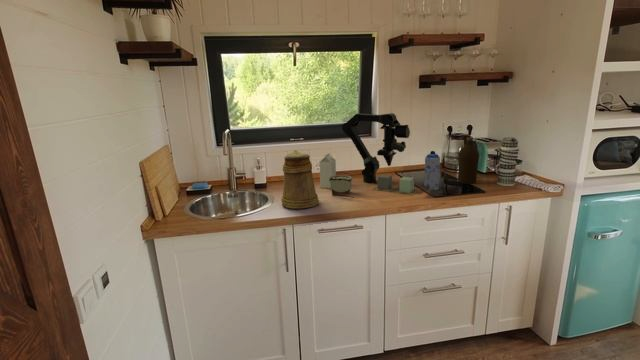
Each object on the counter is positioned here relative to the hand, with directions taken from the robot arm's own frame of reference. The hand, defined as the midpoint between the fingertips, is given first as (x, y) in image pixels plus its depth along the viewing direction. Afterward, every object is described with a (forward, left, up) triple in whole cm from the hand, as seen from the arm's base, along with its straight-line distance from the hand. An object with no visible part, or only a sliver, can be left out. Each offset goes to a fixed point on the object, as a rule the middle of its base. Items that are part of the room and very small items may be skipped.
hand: (389, 165), depth 190 cm
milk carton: (-31, -14, -12) cm, 36 cm away
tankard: (-29, -44, -12) cm, 54 cm away
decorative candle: (+54, +32, -12) cm, 64 cm away
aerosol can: (+21, +8, -12) cm, 26 cm away
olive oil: (+35, +28, -12) cm, 46 cm away
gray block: (+1, -8, -10) cm, 13 cm away
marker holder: (+7, -8, -12) cm, 16 cm away
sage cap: (+13, -8, -10) cm, 19 cm away
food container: (-16, -24, -12) cm, 31 cm away
